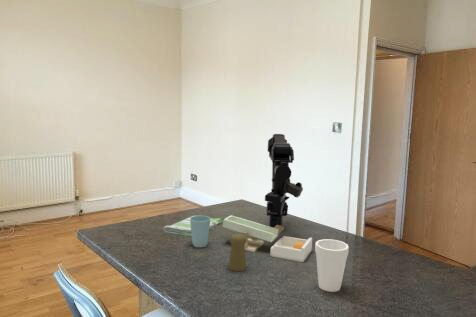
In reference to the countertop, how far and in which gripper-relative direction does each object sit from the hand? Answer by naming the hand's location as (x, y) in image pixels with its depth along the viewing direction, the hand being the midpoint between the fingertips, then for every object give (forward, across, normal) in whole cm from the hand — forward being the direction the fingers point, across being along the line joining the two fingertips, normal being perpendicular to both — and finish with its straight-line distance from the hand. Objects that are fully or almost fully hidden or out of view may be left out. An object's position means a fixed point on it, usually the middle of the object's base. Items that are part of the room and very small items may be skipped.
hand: (279, 215), depth 150 cm
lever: (+5, -6, +8) cm, 11 cm away
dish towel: (+11, 0, +38) cm, 40 cm away
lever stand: (+10, -10, +8) cm, 17 cm away
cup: (+11, -18, +25) cm, 33 cm away
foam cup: (+11, -30, -26) cm, 41 cm away
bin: (+11, -10, -8) cm, 17 cm away
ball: (+8, -10, -11) cm, 17 cm away
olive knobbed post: (+11, -30, +4) cm, 33 cm away
